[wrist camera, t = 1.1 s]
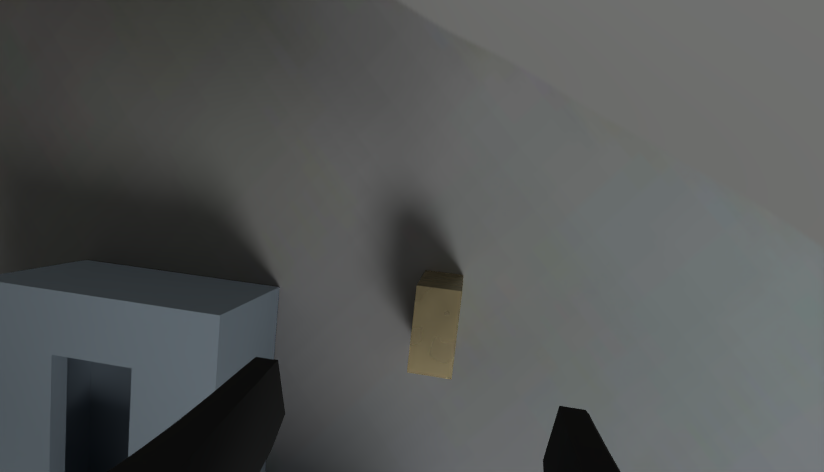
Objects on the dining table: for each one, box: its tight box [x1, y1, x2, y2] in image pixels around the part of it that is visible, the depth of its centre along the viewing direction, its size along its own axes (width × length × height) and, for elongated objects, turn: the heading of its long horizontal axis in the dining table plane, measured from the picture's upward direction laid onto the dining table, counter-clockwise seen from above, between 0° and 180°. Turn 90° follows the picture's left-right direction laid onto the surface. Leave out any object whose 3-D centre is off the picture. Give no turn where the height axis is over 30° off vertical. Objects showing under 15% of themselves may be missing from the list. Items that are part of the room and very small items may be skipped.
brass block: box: [407, 270, 463, 379], centre depth 21 cm, size 4×2×4 cm, turn 174°
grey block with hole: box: [0, 260, 279, 472], centre depth 23 cm, size 14×12×6 cm
